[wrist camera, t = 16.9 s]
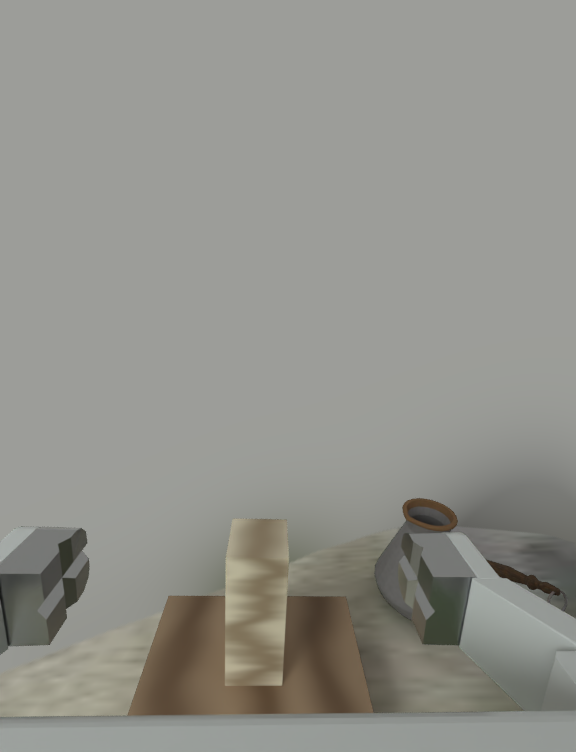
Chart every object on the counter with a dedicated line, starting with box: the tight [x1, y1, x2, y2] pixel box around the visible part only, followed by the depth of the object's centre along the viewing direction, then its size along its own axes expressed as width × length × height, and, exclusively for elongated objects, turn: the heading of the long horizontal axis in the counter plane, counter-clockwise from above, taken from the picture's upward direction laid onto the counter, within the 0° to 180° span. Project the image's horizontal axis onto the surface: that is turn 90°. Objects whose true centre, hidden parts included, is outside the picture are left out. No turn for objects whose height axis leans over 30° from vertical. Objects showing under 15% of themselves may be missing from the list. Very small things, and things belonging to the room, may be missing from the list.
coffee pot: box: [374, 498, 567, 620], centre depth 42 cm, size 21×12×15 cm, turn 21°
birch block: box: [225, 519, 289, 686], centre depth 32 cm, size 5×5×13 cm
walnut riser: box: [127, 596, 374, 716], centre depth 34 cm, size 20×14×5 cm
